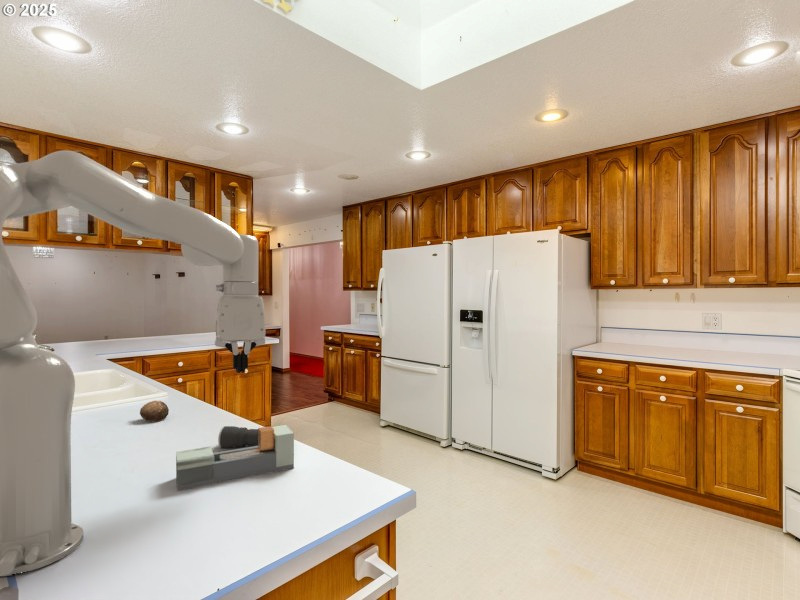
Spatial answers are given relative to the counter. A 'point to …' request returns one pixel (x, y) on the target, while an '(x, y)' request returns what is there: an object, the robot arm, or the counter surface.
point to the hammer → (263, 443)
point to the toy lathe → (233, 462)
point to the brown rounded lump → (154, 411)
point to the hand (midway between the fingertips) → (240, 371)
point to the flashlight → (237, 437)
